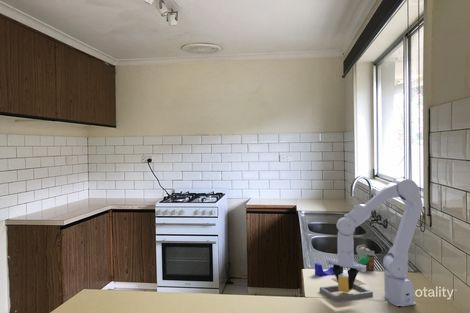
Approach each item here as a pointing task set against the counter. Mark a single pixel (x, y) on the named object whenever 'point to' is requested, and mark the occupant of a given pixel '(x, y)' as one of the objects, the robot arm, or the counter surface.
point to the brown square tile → (354, 281)
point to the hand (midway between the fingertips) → (345, 287)
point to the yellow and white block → (343, 283)
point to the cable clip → (320, 271)
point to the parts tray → (363, 294)
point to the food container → (365, 257)
